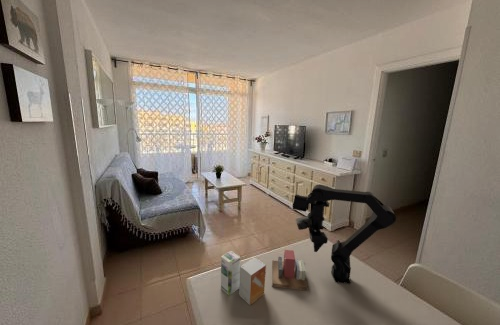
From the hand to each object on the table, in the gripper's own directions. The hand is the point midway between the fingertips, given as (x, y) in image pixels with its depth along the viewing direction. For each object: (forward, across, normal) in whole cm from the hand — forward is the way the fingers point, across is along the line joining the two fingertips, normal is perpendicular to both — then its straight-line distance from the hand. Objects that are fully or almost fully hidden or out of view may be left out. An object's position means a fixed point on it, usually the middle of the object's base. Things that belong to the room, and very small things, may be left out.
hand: (313, 245), depth 92 cm
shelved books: (+10, +6, -6) cm, 14 cm away
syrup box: (+12, +16, -35) cm, 40 cm away
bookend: (+11, +6, -15) cm, 19 cm away
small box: (+12, +18, -26) cm, 34 cm away
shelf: (+12, +6, -11) cm, 17 cm away
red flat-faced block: (+10, +6, -11) cm, 16 cm away
